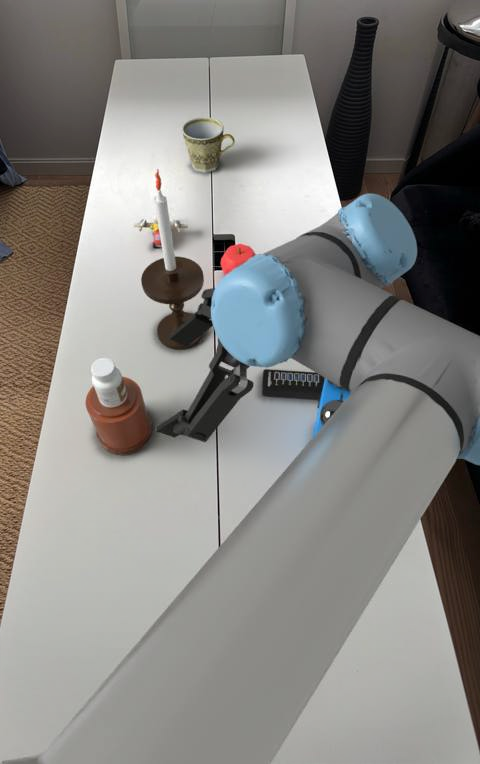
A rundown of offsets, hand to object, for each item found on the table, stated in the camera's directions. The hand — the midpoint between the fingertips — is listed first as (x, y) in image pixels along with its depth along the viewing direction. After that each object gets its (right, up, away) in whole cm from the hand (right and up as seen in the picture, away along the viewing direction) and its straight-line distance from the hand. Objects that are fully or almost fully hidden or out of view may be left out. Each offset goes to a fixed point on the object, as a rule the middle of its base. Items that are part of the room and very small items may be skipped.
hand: (172, 384), depth 71 cm
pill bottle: (-11, -2, +14) cm, 18 cm away
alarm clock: (+24, -10, +21) cm, 33 cm away
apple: (+9, +22, +44) cm, 50 cm away
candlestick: (-3, +10, +36) cm, 37 cm away
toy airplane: (-9, +33, +52) cm, 63 cm away
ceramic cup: (+1, +55, +68) cm, 87 cm away
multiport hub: (+18, -1, +28) cm, 33 cm away
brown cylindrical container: (-11, -8, +23) cm, 26 cm away
